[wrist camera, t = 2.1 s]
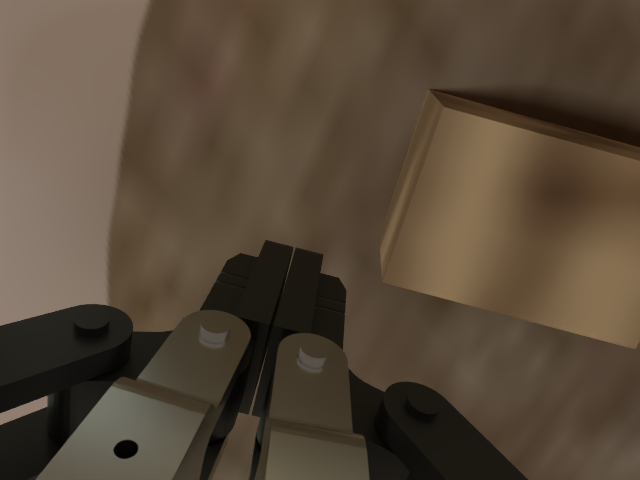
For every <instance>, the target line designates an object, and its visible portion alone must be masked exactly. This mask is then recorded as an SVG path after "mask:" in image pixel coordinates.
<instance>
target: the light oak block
mask: <svg viewBox="0 0 640 480" xmlns="http://www.w3.org/2000/svg"><path fill="white" fill-rule="evenodd" d="M379 238H380V254H381V270H382V282H383V283H387V284H391V285H394V286H398V287H402V288H406V289H410V290H413V291H417V292H421V293H425V294H429V295H432V296H436V297H440V298H444V299H447V300H451V301H455V302H459V303H463V304H466V305H470V306H474V307H478V308H481V309H485V310H489V311H493V312H497V313H500V314H504V315H508V316H512V317H516V318H519V319H523V320H527V321H531V322H534V323H538V324H542V325H546V326H550V327H553V328H557V329H561V330H565V331H568V332H572V333H576V334H580V335H584V336H587V337H591V338H595V339H599V340H603V341H606V342H610V343H614V344H618V345H621V346H625V347H629V348H633V349H635V348H636V347H637V345H638V344H639V342H640V147H637V146H633V145H629V144H626V143H622V142H619V141H615V140H611V139H608V138H604V137H600V136H597V135H593V134H590V133H586V132H582V131H579V130H575V129H572V128H568V127H564V126H561V125H557V124H553V123H550V122H546V121H543V120H539V119H535V118H532V117H528V116H524V115H521V114H517V113H514V112H510V111H506V110H503V109H499V108H496V107H492V106H488V105H485V104H481V103H477V102H474V101H470V100H467V99H463V98H459V97H456V96H452V95H448V94H445V93H441V92H438V91H434V90H430V89H428V91H427V94H426V97H425V100H424V103H423V106H422V109H421V112H420V115H419V118H418V121H417V124H416V127H415V130H414V133H413V136H412V139H411V142H410V145H409V148H408V151H407V154H406V157H405V160H404V163H403V166H402V169H401V172H400V175H399V178H398V181H397V184H396V187H395V190H394V193H393V196H392V199H391V202H390V205H389V208H388V211H387V214H386V217H385V220H384V223H383V226H382V229H381V232H380V235H379Z"/></svg>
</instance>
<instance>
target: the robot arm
mask: <svg viewBox="0 0 640 480" xmlns="http://www.w3.org/2000/svg"><path fill="white" fill-rule="evenodd" d="M292 252H293V247H292V246H288V245H284V244H280V243H276V242H272V241H268V240H266V241H265V243H264V245H263V247H262V250H261V252H260V254H259V257H254V256H250V255H246V254H242V253H240V254H238V255H236V256H235V257H233V258H231V259H229V260H227V262H226V264H225V266H224V267H223V269H222V271H221V274H220V275H219V276H218V278H217V280H216V283H215V284H214V285H213V287H212V289H211V291H210V293H209V295H208V296H207V298H206V300H205V302H204V304H203V305H202V307H201V309H200V311H197V312H193V313H191V314H189V315H187V316H185V317H184V318H183V319H182V320H181V321H180V322H179V324H178V325H177V326H176V328H175V329H174V330H172V331H166V332H133V323H132V321H131V319H130V317H129V316H128V315H127V314H125V313H124V312H123V311H121V310H119V309H117V308H114V307H111V306H106V305H98V304H86V305H79V306H75V307H70V308H67V309H63V310H59V311H55V312H52V313H48V314H44V315H40V316H36V317H32V318H29V319H25V320H21V321H17V322H13V323H10V324H6V325H2V326H0V413H2V412H5V411H7V410H10V409H13V408H15V407H18V406H20V405H23V404H26V403H29V402H31V401H34V400H37V399H39V398H42V397H44V396H47V395H48V407H46V408H43V409H41V410H38V411H36V412H33V413H30V414H28V415H25V416H23V417H20V418H17V419H15V420H12V421H10V422H7V423H5V424H2V425H0V480H212V478H213V475H214V473H215V470H216V468H217V466H218V463H219V461H220V459H221V456H222V454H223V451H224V449H225V447H226V444H227V441H228V437H229V432H230V431H231V430H232V429H233V427H234V424H235V421H236V418H237V415H238V412H240V413H244V414H249V411H250V407H251V404H252V400H253V397H254V393H255V390H256V386H257V383H258V379H259V376H260V372H261V369H262V365H263V362H264V358H265V355H266V358H265V362H264V366H263V370H262V374H261V378H260V383H259V387H258V391H257V395H256V399H255V403H254V407H253V411H252V415H253V416H258V417H260V421H259V425H258V429H257V433H256V437H255V441H254V445H253V449H252V454H251V460H250V466H249V473H248V479H247V480H528V479H527V478H526V477H525V476H524V475H523V474H522V473H521V472H520V471H519V470H518V469H517V468H516V467H515V466H514V465H513V464H512V463H511V462H509V461H508V460H507V459H506V458H505V457H504V456H503V455H502V454H501V453H500V452H499V451H498V450H497V449H496V448H495V447H494V446H493V445H492V444H491V443H490V442H489V441H488V440H487V439H486V438H485V437H484V436H483V435H482V434H481V433H480V432H479V431H478V430H477V429H476V428H475V427H474V426H473V425H472V424H471V423H470V422H469V421H468V420H467V419H466V418H465V417H464V416H463V415H461V414H460V413H459V412H458V411H457V410H456V409H455V408H454V407H453V406H452V405H451V404H450V403H449V402H448V401H447V400H446V399H445V398H444V397H443V396H442V395H440V394H439V393H437V392H436V391H434V390H433V389H431V388H429V387H426V386H424V385H421V384H418V383H413V382H398V383H395V384H392V385H391V386H389V387H388V388H387V389H386V391H385V392H383V391H381V390H379V389H377V388H375V387H373V386H371V385H369V384H367V383H365V382H364V381H362V380H361V379H359V378H358V377H357V376H356V375H354V374H353V373H352V372H351V370H350V369H349V368H348V360H347V357H346V355H345V353H344V352H343V336H344V320H345V315H344V314H345V303H346V289H345V287H344V286H343V284H342V282H341V281H340V279H339V278H337V277H334V276H330V275H326V274H322V273H320V271H321V265H322V259H323V254H320V253H316V252H312V251H308V250H304V249H300V248H296V249H295V252H294V256H293V259H292V263H291V266H290V270H289V273H288V276H287V272H288V268H289V264H290V260H291V256H292ZM286 276H287V280H286ZM285 280H286V283H285ZM284 284H285V287H284ZM283 289H284V290H283ZM282 293H283V294H282ZM267 348H268V350H267ZM266 352H267V354H266Z"/></svg>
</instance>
